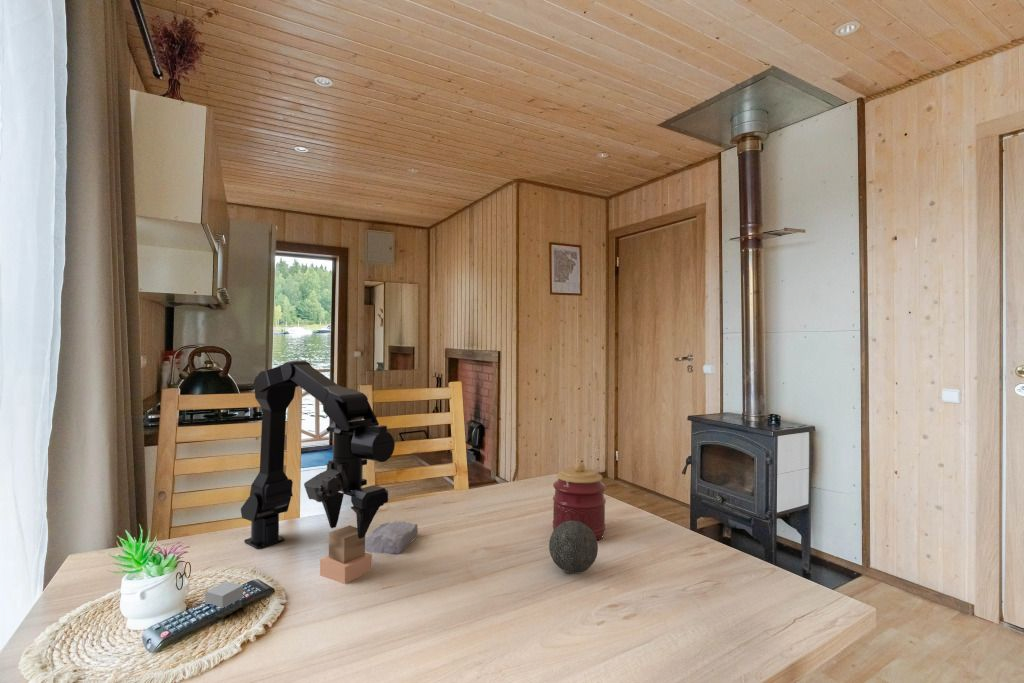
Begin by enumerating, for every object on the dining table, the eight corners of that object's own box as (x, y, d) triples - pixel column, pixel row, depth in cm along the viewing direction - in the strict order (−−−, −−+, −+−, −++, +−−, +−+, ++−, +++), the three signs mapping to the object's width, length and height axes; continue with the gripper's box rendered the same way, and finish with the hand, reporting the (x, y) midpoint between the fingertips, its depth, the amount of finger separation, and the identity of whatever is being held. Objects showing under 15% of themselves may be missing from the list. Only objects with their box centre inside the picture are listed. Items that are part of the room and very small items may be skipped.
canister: (613, 530, 125) (614, 460, 125) (592, 548, 114) (593, 471, 115) (566, 520, 132) (567, 453, 132) (543, 535, 121) (543, 463, 122)
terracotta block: (319, 577, 99) (320, 559, 99) (346, 563, 105) (347, 547, 105) (344, 585, 96) (345, 567, 96) (371, 571, 102) (371, 554, 102)
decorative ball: (538, 570, 102) (539, 522, 103) (567, 556, 110) (568, 510, 110) (578, 587, 96) (579, 535, 96) (607, 570, 103) (607, 522, 103)
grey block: (204, 615, 84) (205, 591, 84) (225, 603, 88) (226, 581, 88) (222, 620, 83) (222, 596, 83) (242, 608, 87) (243, 585, 87)
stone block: (360, 560, 111) (402, 555, 109) (357, 538, 111) (399, 533, 109) (383, 541, 122) (421, 536, 121) (380, 522, 123) (418, 516, 121)
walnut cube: (328, 557, 100) (329, 532, 100) (349, 549, 104) (350, 525, 104) (343, 563, 97) (344, 538, 97) (364, 555, 101) (365, 530, 101)
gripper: (284, 455, 100) (283, 533, 99) (341, 470, 89) (340, 558, 88) (333, 446, 109) (332, 518, 108) (390, 459, 98) (389, 539, 97)
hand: (346, 532), depth 101 cm, fingers open, 9 cm apart
